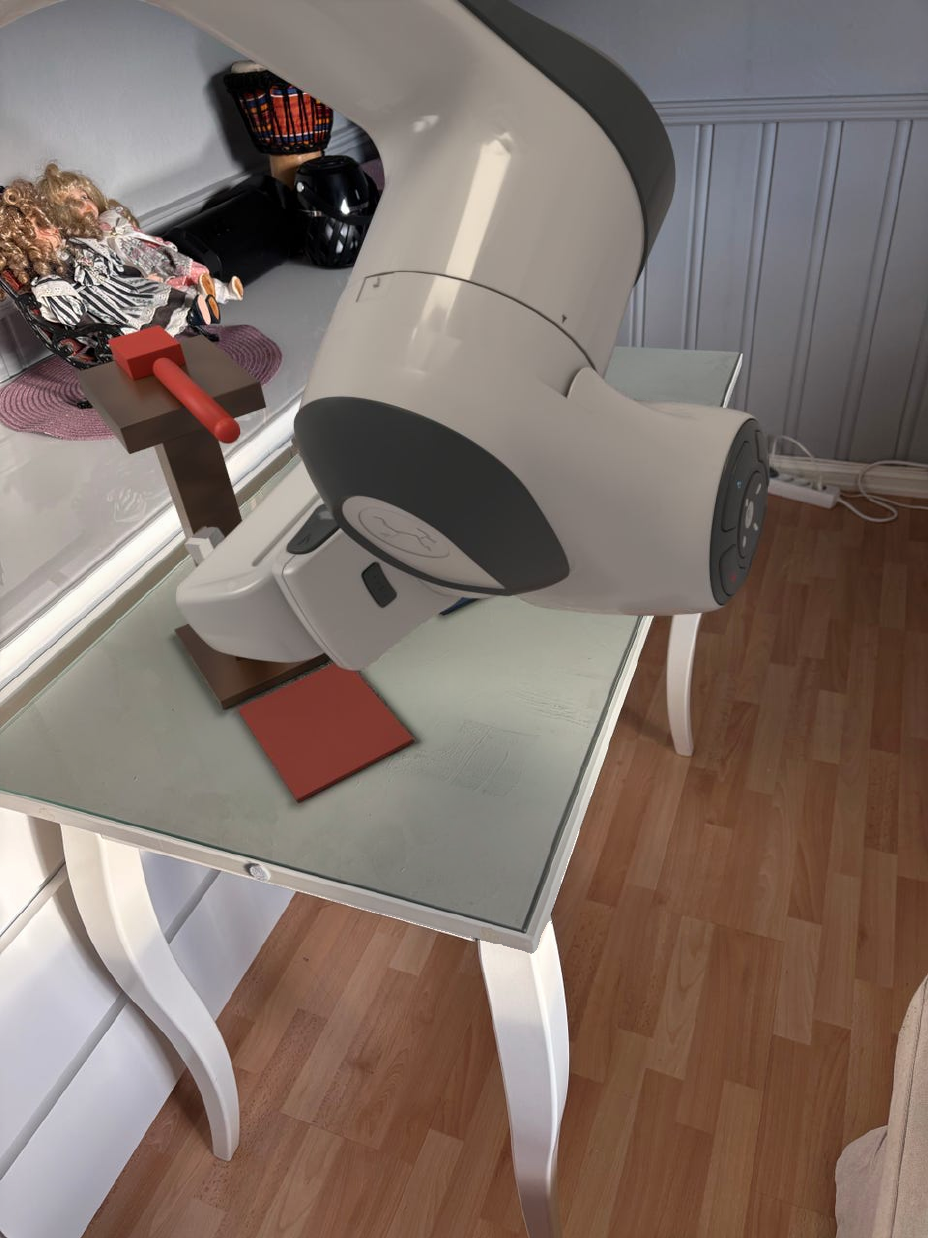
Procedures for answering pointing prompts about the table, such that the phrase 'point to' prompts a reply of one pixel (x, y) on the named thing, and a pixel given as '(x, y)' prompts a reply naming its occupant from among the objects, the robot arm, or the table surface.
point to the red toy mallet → (171, 376)
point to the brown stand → (192, 480)
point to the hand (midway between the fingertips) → (253, 491)
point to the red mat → (323, 729)
